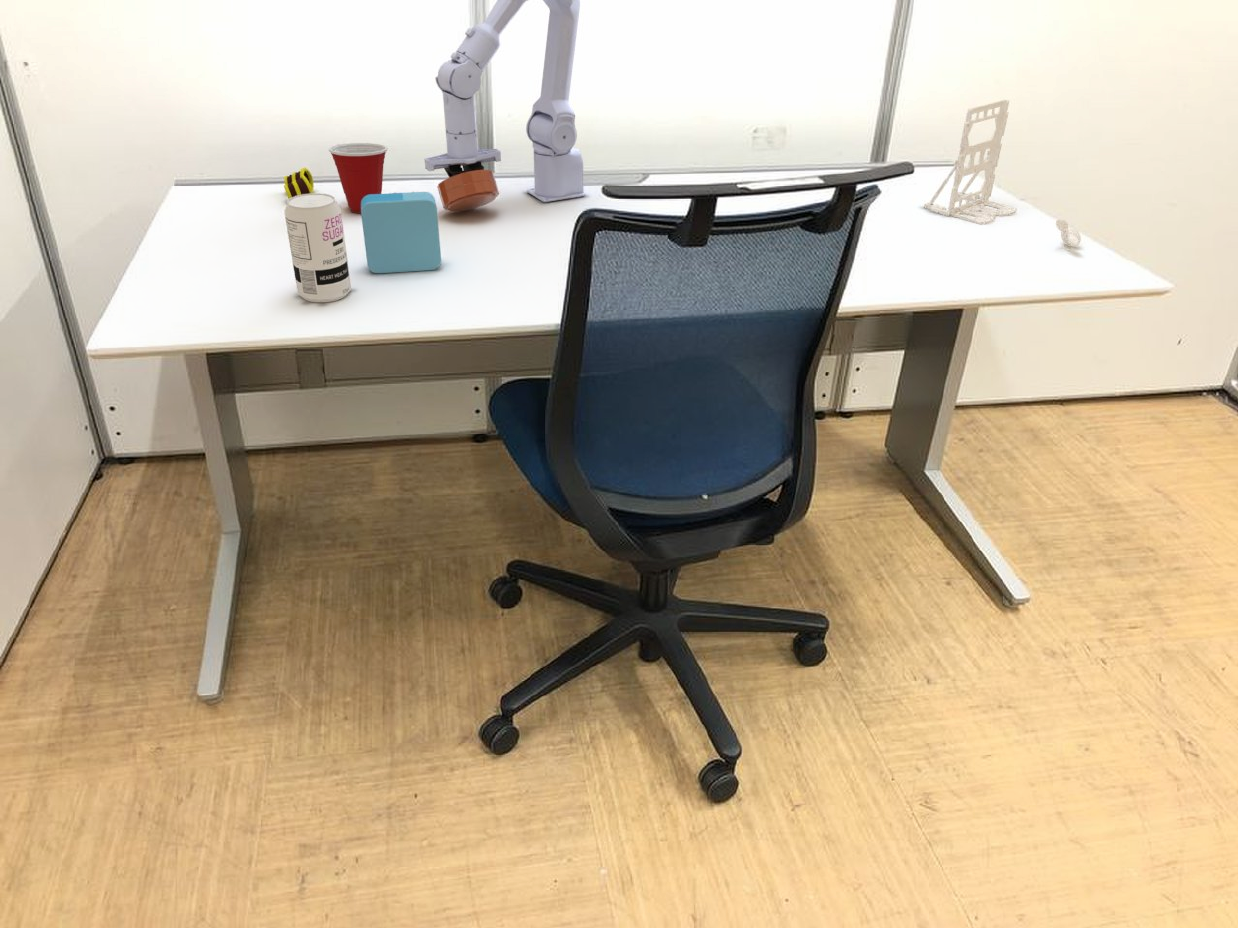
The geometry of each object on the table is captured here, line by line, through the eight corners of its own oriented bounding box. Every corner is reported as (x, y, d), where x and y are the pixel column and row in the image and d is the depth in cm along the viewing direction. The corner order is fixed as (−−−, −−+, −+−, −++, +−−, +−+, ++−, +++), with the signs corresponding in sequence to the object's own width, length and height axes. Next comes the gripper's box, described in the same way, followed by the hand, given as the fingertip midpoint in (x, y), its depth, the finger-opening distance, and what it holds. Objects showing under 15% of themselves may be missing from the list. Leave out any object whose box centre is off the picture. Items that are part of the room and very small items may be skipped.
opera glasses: (290, 194, 205) (281, 170, 202) (316, 187, 205) (307, 164, 203) (290, 209, 197) (281, 184, 194) (317, 202, 197) (308, 177, 195)
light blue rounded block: (440, 260, 172) (434, 190, 166) (442, 269, 169) (436, 199, 162) (368, 264, 170) (359, 194, 164) (368, 274, 166) (359, 203, 160)
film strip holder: (982, 226, 191) (1005, 118, 181) (920, 208, 200) (938, 104, 189) (1022, 211, 199) (1046, 107, 189) (961, 195, 208) (981, 94, 198)
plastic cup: (400, 201, 199) (394, 139, 193) (384, 219, 190) (377, 154, 184) (347, 199, 200) (339, 137, 194) (328, 216, 191) (319, 152, 185)
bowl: (455, 216, 197) (449, 193, 197) (507, 198, 195) (500, 175, 195) (435, 208, 187) (428, 184, 186) (489, 190, 184) (482, 165, 184)
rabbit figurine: (1090, 246, 183) (1086, 238, 176) (1070, 261, 184) (1066, 253, 177) (1069, 222, 185) (1064, 213, 178) (1050, 236, 186) (1044, 228, 179)
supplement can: (303, 284, 162) (288, 192, 154) (355, 283, 163) (343, 191, 155) (293, 304, 156) (277, 209, 148) (348, 303, 156) (335, 208, 148)
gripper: (432, 140, 180) (438, 214, 188) (506, 131, 187) (509, 203, 194) (418, 131, 186) (424, 204, 193) (490, 122, 192) (494, 193, 199)
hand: (466, 203), depth 194 cm, fingers closed, pressing on bowl
